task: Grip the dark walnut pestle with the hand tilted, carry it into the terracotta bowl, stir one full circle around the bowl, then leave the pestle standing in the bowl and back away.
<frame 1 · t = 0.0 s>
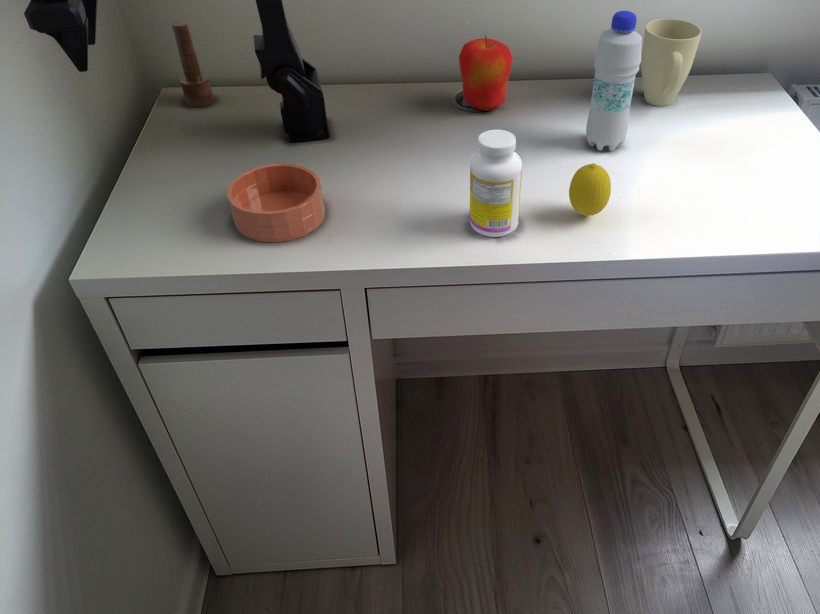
hand: (87, 57, 99), 15 cm above the table, tool pointing down, fingers open, 9 cm apart
pestle: (200, 101, 121), on the table
lemon: (586, 217, 98), on the table
apple: (484, 106, 121), on the table
bowl: (280, 215, 97), on the table
mug: (660, 103, 122), on the table
supplement bottle: (493, 225, 97), on the table
bottle: (604, 145, 112), on the table
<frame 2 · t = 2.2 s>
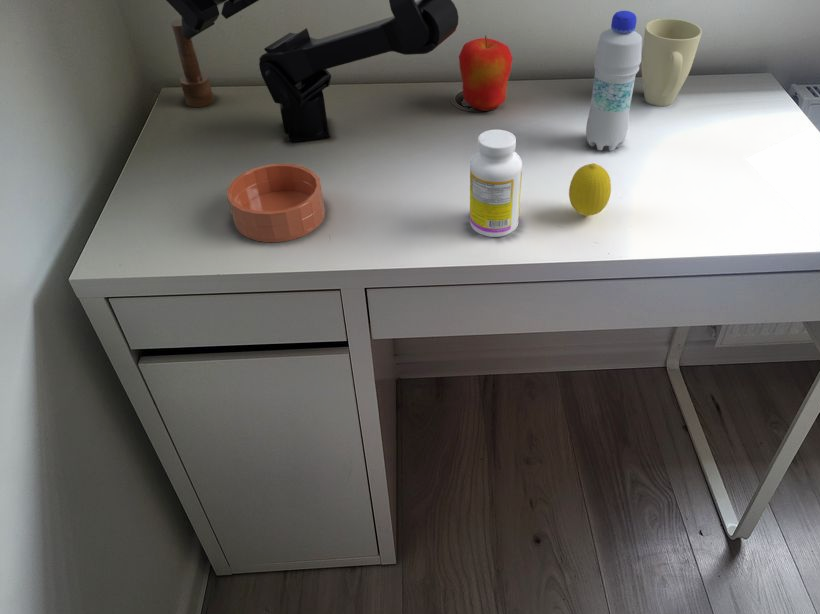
hand: (205, 26, 109), 14 cm above the table, tool tilted 40°, fingers open, 9 cm apart
nothing on the table moved.
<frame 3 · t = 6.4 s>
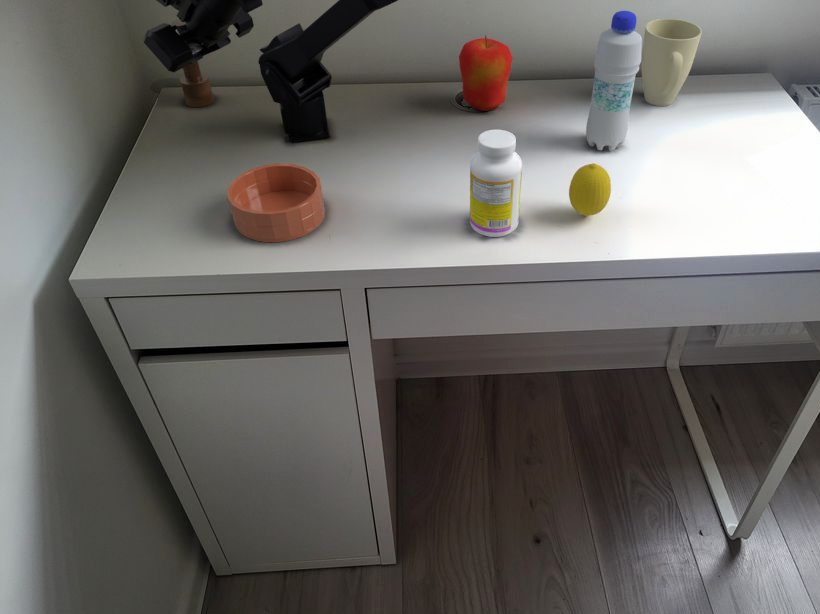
hand: (183, 61, 117), 7 cm above the table, tool tilted 45°, fingers closed on pestle, 2 cm apart
pestle: (200, 101, 121), on the table, touching gripper
everything else where it was.
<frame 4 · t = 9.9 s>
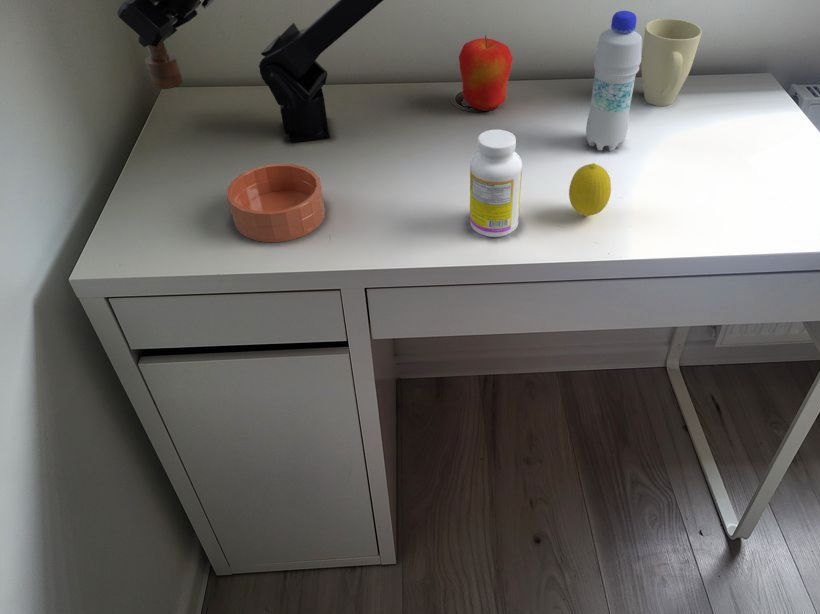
hand: (146, 40, 109), 12 cm above the table, tool tilted 45°, fingers closed on pestle, 2 cm apart
pestle: (167, 82, 113), point 6 cm above the table, touching gripper
everything else where it was.
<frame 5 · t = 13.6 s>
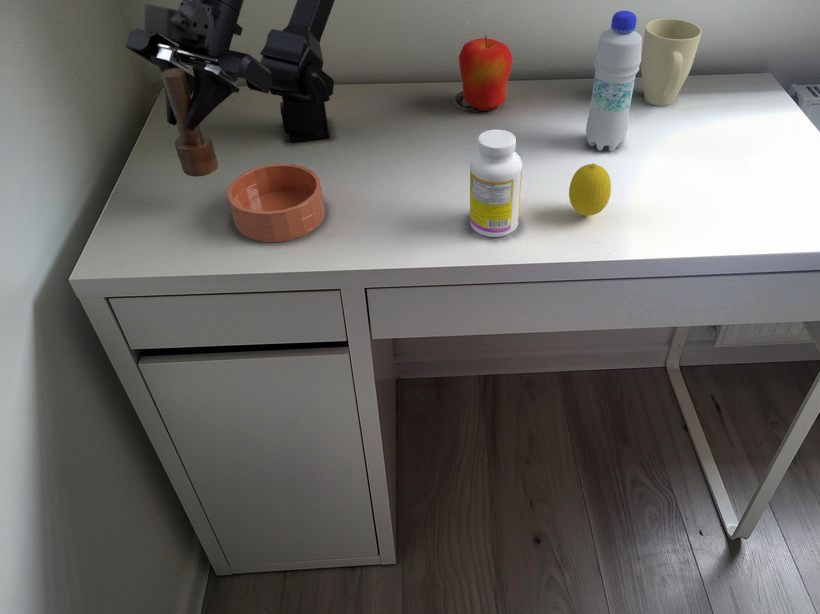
hand: (179, 126, 90), 12 cm above the table, tool tilted 45°, fingers closed on pestle, 2 cm apart
pestle: (200, 167, 95), point 6 cm above the table, touching gripper
everything else where it was.
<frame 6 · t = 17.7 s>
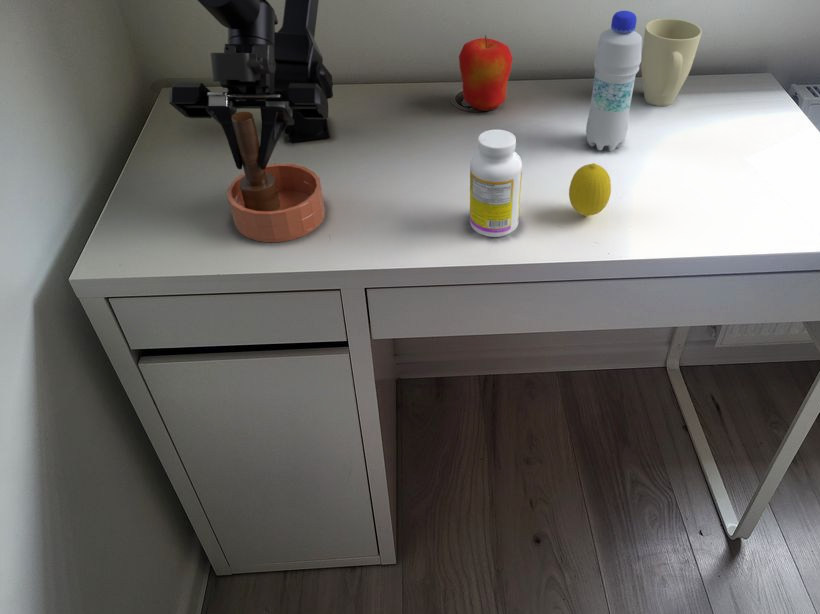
hand: (250, 168, 90), 8 cm above the table, tool tilted 45°, fingers closed on pestle, 2 cm apart
pestle: (263, 206, 96), point 2 cm above the table, touching gripper
everything else where it was.
when the fingers open (7 cm above the table, at t = 21.0 s): pestle stays where it is, resting on bowl.
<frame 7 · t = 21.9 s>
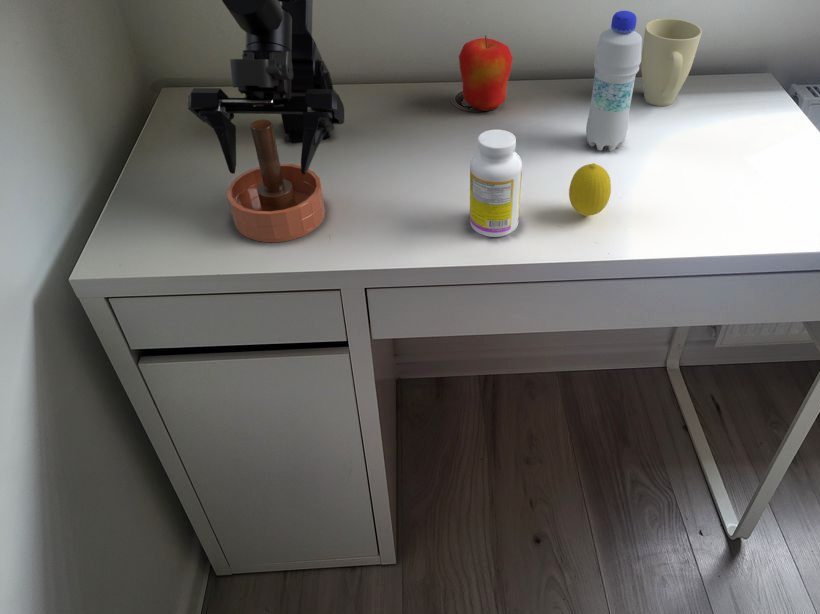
hand: (267, 173, 91), 8 cm above the table, tool tilted 45°, fingers open, 9 cm apart
pestle: (279, 212, 97), resting on bowl
everything else where it was.
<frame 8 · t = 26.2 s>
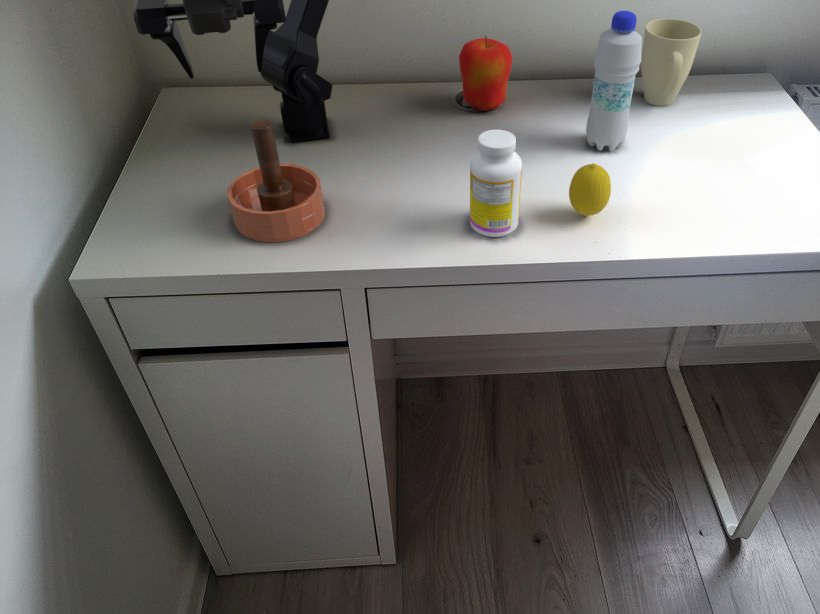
hand: (226, 74, 99), 13 cm above the table, tool pointing down, fingers open, 9 cm apart
nothing on the table moved.
at the end: pestle inside the target area in the bowl (0.1 cm from its centre), point 0.5 cm above the bowl's base; the gripper is holding nothing; pestle moved 39.5 cm from its start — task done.
